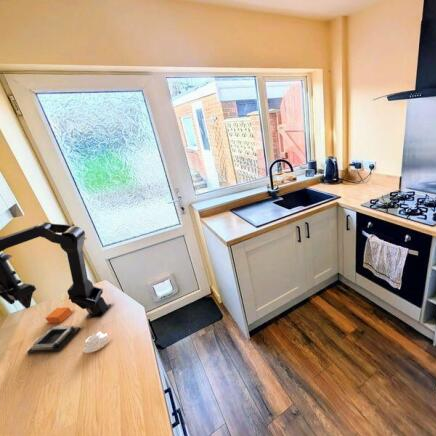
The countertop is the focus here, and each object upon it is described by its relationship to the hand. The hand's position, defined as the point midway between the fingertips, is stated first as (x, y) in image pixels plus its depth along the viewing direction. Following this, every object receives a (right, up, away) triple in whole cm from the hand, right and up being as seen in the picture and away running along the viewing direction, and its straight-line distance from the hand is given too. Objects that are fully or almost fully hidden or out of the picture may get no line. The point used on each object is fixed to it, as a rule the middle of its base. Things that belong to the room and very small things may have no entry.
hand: (20, 305), depth 95 cm
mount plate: (+15, -13, -2) cm, 20 cm away
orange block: (+6, -9, +10) cm, 15 cm away
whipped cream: (+34, -13, -5) cm, 37 cm away
